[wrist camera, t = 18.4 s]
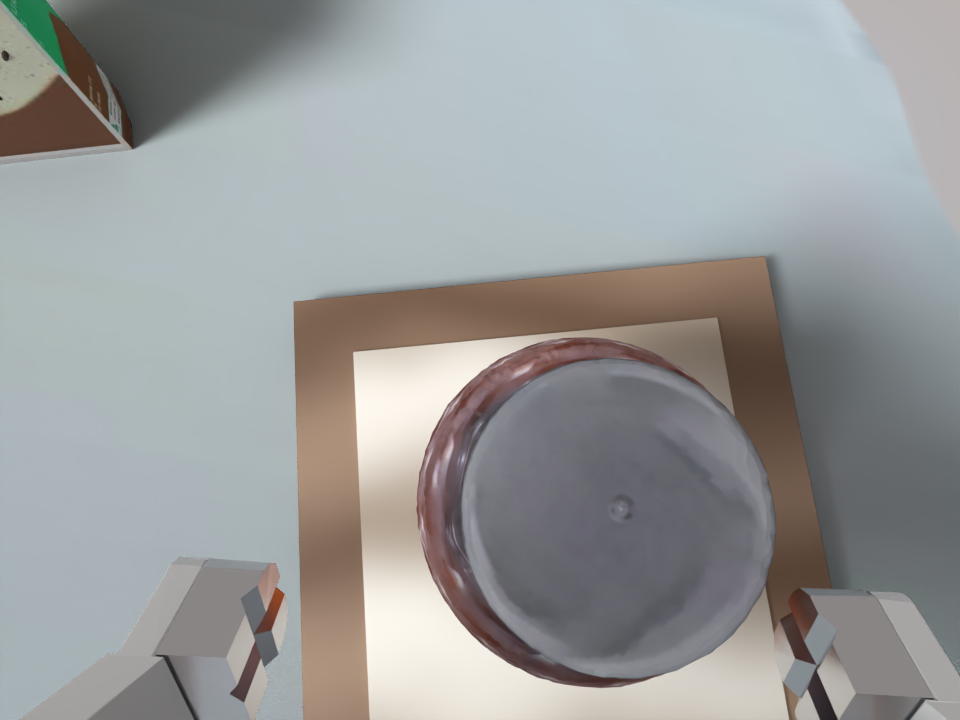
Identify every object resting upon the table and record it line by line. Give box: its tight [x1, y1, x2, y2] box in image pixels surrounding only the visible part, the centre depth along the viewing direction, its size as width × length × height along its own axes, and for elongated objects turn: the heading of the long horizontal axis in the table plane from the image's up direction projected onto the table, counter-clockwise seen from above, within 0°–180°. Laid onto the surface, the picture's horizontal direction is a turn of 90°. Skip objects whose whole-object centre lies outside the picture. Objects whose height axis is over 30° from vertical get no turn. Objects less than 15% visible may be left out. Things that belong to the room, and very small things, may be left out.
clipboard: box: [294, 256, 832, 720], centre depth 18 cm, size 18×16×2 cm
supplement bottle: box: [416, 337, 776, 688], centre depth 13 cm, size 6×6×11 cm
